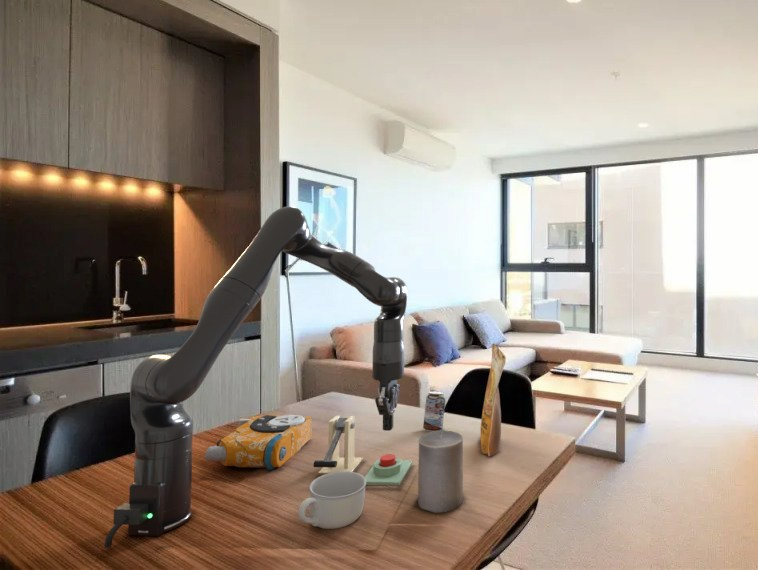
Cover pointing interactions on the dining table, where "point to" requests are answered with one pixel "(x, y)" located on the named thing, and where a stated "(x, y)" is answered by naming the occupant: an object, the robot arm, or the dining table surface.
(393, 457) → the button
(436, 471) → the pillar candle
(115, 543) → the dining table surface
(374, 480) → the button block
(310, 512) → the teacup
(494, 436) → the pancake mix bag
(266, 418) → the device
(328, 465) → the press lever
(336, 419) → the lever bracket
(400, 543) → the dining table surface
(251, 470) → the dining table surface
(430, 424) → the beverage can
